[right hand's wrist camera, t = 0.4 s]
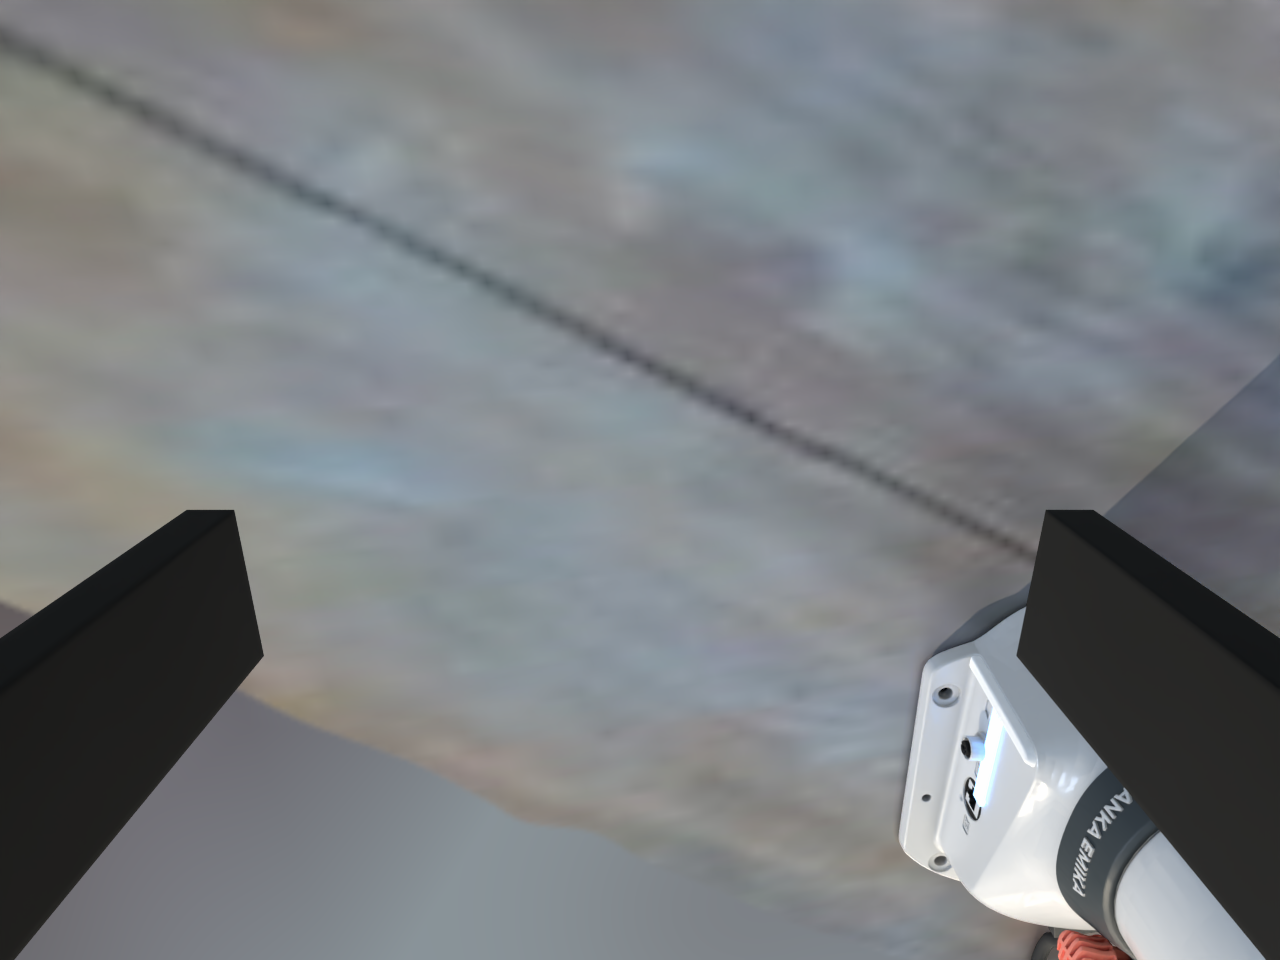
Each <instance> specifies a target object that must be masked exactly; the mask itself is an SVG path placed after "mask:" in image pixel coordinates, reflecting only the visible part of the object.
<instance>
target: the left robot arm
mask: <svg viewBox="0 0 1280 960" xmlns="http://www.w3.org/2000/svg"><path fill="white" fill-rule="evenodd" d="M1025 610H1026V607H1024V608H1022V609H1020V610H1019V611H1017V612H1015V613H1014V614H1012V615H1010V616H1009V617H1007V618H1006V619H1004V620H1003V621H1002V622H1000V623H999V624H998V625H996V626H995V627H994V628H992V629H991V630H990V631H988V632H987V633H986V634H984V635H983V636H981V637H980V638H978V639H976V640H974V641H972V642H969V643H966V644H963V645H960V646H957V647H954V648H951V649H948V650H945V651H943V652H941V653H939V654H937V655H935V656H933V657H932V658H930V659H929V660H928V661H927V663H926V664H925V666H924V669H923V673H922V679H921V686H920V693H919V700H918V706H917V713H916V720H915V727H914V733H913V740H912V747H911V754H910V760H909V767H908V774H907V781H906V787H905V794H904V801H903V808H902V814H901V821H900V829H899V842H900V844H901V846H902V848H903V850H904V851H905V853H906V854H907V855H908V856H909V857H911V858H912V859H913V860H914V861H916V862H917V863H919V864H920V865H922V866H923V867H925V868H927V869H929V870H931V871H933V872H935V873H938V874H940V875H943V876H946V877H949V878H952V879H955V880H959V881H961V882H962V884H963V885H964V886H965V888H966V889H967V890H968V891H969V892H970V893H971V894H972V895H973V896H974V897H975V898H976V899H977V900H978V901H980V902H981V903H983V904H984V905H985V906H987V907H989V908H991V909H993V910H995V911H996V912H998V913H1001V914H1003V915H1006V916H1008V917H1011V918H1014V919H1018V920H1021V921H1025V922H1029V923H1033V924H1038V925H1044V926H1048V927H1049V929H1050V931H1051V932H1048V933H1045V934H1044V935H1043V936H1042V937H1041V938H1040V940H1039V942H1038V943H1037V945H1036V947H1035V949H1034V952H1033V955H1032V958H1031V960H1046V959H1047V957H1048V954H1049V952H1050V951H1051V949H1052V948H1053V947H1057V950H1059V954H1058V958H1059V960H1266V959H1265V958H1264V957H1263V956H1262V954H1261V953H1260V952H1259V951H1258V950H1257V948H1256V947H1255V946H1254V945H1253V944H1252V942H1251V941H1250V940H1249V939H1248V937H1247V936H1246V935H1245V934H1244V933H1243V931H1242V930H1241V929H1240V928H1239V926H1238V925H1237V924H1236V923H1235V922H1234V920H1233V919H1232V918H1231V917H1230V916H1229V914H1228V913H1227V912H1226V911H1225V909H1224V908H1223V907H1222V906H1221V905H1220V903H1219V902H1218V901H1217V900H1216V898H1215V897H1214V896H1213V895H1212V894H1211V892H1210V891H1209V890H1208V889H1207V888H1206V886H1205V885H1204V884H1203V883H1202V881H1201V880H1200V879H1199V878H1198V877H1197V875H1196V874H1195V873H1194V872H1193V870H1192V869H1191V868H1190V867H1189V866H1188V864H1187V863H1186V862H1185V861H1184V860H1183V858H1182V857H1181V856H1180V855H1179V853H1178V852H1177V851H1176V850H1175V849H1174V847H1173V846H1172V845H1171V844H1170V842H1169V841H1168V840H1167V839H1166V838H1165V836H1164V835H1163V834H1162V833H1161V832H1160V830H1159V829H1158V828H1157V827H1156V825H1155V824H1154V823H1153V822H1152V821H1151V819H1150V818H1149V817H1148V816H1147V814H1146V813H1145V812H1144V811H1143V810H1142V808H1141V807H1140V806H1139V805H1138V804H1137V802H1136V801H1135V800H1134V799H1133V797H1132V796H1131V795H1130V794H1129V793H1128V791H1127V790H1126V789H1125V788H1124V786H1123V785H1122V784H1121V783H1120V782H1119V780H1118V779H1117V778H1116V777H1115V776H1114V774H1113V773H1112V772H1111V771H1110V769H1109V768H1108V767H1107V766H1106V765H1105V763H1104V762H1103V761H1102V760H1101V758H1100V757H1099V756H1098V755H1097V754H1096V752H1095V751H1094V750H1093V749H1092V748H1091V746H1090V745H1089V744H1088V743H1087V741H1086V740H1085V739H1084V738H1083V737H1082V735H1081V734H1080V733H1079V732H1078V730H1077V729H1076V728H1075V727H1074V726H1073V724H1072V723H1071V722H1070V721H1069V720H1068V718H1067V717H1066V716H1065V715H1064V713H1063V712H1062V711H1061V710H1060V709H1059V707H1058V706H1057V705H1056V704H1055V702H1054V701H1053V700H1052V699H1051V698H1050V696H1049V695H1048V694H1047V693H1046V692H1045V690H1044V689H1043V688H1042V687H1041V685H1040V684H1039V683H1038V682H1037V681H1036V679H1035V678H1034V677H1033V676H1032V674H1031V673H1030V672H1029V671H1028V670H1027V668H1026V667H1025V666H1024V665H1023V664H1022V662H1021V661H1020V660H1019V659H1018V657H1017V656H1016V654H1017V650H1018V645H1019V640H1020V635H1021V630H1022V625H1023V620H1024V615H1025ZM943 688H947V690H945V691H944V692H939V691H940V690H941V689H943ZM1095 932H1099V933H1100V934H1101V935H1092V936H1087V935H1084V934H1087V933H1095ZM1109 941H1110V942H1111V943H1112V944H1114V945H1115V946H1116V947H1115V946H1112V944H1111V943H1110V942H1109Z"/></svg>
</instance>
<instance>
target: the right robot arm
mask: <svg viewBox="0 0 1280 960" xmlns="http://www.w3.org/2000/svg"><path fill="white" fill-rule="evenodd" d="M263 656H264V654H263V650H262V645H261V640H260V635H259V630H258V625H257V620H256V615H255V610H254V605H253V600H252V595H251V591H250V586H249V581H248V576H247V571H246V566H245V561H244V556H243V551H242V546H241V541H240V536H239V532H238V527H237V522H236V517H235V512H234V510H186V511H185V512H183V513H182V514H180V515H179V516H177V517H176V518H174V519H173V520H171V521H170V522H169V523H167V524H166V525H164V526H163V527H161V528H160V529H158V530H157V531H155V532H154V533H153V534H151V535H150V536H148V537H147V538H145V539H144V540H142V541H141V542H140V543H138V544H137V545H135V546H134V547H132V548H131V549H129V550H128V551H126V552H125V553H124V554H122V555H121V556H119V557H118V558H116V559H115V560H113V561H112V562H110V563H109V564H108V565H106V566H105V567H103V568H102V569H100V570H99V571H97V572H96V573H94V574H93V575H92V576H90V577H89V578H87V579H86V580H84V581H83V582H81V583H80V584H79V585H77V586H76V587H74V588H73V589H71V590H70V591H68V592H67V593H65V594H64V595H63V596H61V597H60V598H58V599H57V600H55V601H54V602H52V603H51V604H49V605H48V606H47V607H45V608H44V609H42V610H41V611H39V612H38V613H36V614H35V615H33V616H32V617H31V618H29V619H28V620H26V621H25V622H23V623H22V624H20V625H19V626H18V627H16V628H15V629H13V630H12V631H10V632H9V633H7V634H6V635H4V636H3V637H2V638H0V960H14V959H15V958H16V957H17V956H18V954H19V953H20V952H21V951H22V950H23V948H24V947H25V946H26V945H27V944H28V942H29V941H30V940H31V939H32V937H33V936H34V935H35V934H36V933H37V931H38V930H39V929H40V928H41V926H42V925H43V924H44V923H45V922H46V920H47V919H48V918H49V917H50V915H51V914H52V913H53V912H54V911H55V909H56V908H57V907H58V906H59V905H60V903H61V902H62V901H63V900H64V898H65V897H66V896H67V895H68V894H69V892H70V891H71V890H72V889H73V887H74V886H75V885H76V884H77V883H78V881H79V880H80V879H81V878H82V876H83V875H84V874H85V873H86V872H87V870H88V869H89V868H90V867H91V866H92V864H93V863H94V862H95V861H96V860H97V858H98V857H99V856H100V855H101V853H102V852H103V851H104V850H105V849H106V847H107V846H108V845H109V844H110V842H111V841H112V840H113V839H114V838H115V836H116V835H117V834H118V833H119V831H120V830H121V829H122V828H123V827H124V825H125V824H126V823H127V822H128V820H129V819H130V818H131V817H132V816H133V814H134V813H135V812H136V811H137V810H138V808H139V807H140V806H141V805H142V804H143V802H144V801H145V800H146V799H147V797H148V796H149V795H150V794H151V792H152V791H153V790H154V789H155V788H156V786H157V785H158V784H159V783H160V782H161V780H162V779H163V778H164V777H165V775H166V774H167V773H168V772H169V771H170V769H171V768H172V767H173V766H174V765H175V763H176V762H177V761H178V760H179V758H180V757H181V756H182V755H183V754H184V752H185V751H186V750H187V749H188V748H189V746H190V745H191V744H192V743H193V741H194V740H195V739H196V738H197V737H198V735H199V734H200V733H201V732H202V730H203V729H204V728H205V727H206V726H207V724H208V723H209V722H210V721H211V720H212V718H213V717H214V716H215V715H216V713H217V712H218V711H219V710H220V709H221V707H222V706H223V705H224V704H225V702H226V701H227V700H228V699H229V698H230V696H231V695H232V694H233V693H234V692H235V690H236V689H237V688H238V687H239V685H240V684H241V683H242V682H243V681H244V679H245V678H246V677H247V676H248V674H249V673H250V672H251V671H252V670H253V668H254V667H255V666H256V665H257V664H258V662H259V661H260V660H261V659H262V657H263ZM1016 656H1017V657H1018V659H1019V660H1020V661H1021V662H1022V664H1023V665H1024V666H1025V667H1026V668H1027V670H1028V671H1029V672H1030V673H1031V674H1032V676H1033V677H1034V678H1035V679H1036V681H1037V682H1038V683H1039V684H1040V685H1041V687H1042V688H1043V689H1044V690H1045V692H1046V693H1047V694H1048V695H1049V696H1050V698H1051V699H1052V700H1053V701H1054V702H1055V704H1056V705H1057V706H1058V707H1059V709H1060V710H1061V711H1062V712H1063V713H1064V715H1065V716H1066V717H1067V718H1068V720H1069V721H1070V722H1071V723H1072V724H1073V726H1074V727H1075V728H1076V729H1077V730H1078V732H1079V733H1080V734H1081V735H1082V737H1083V738H1084V739H1085V740H1086V741H1087V743H1088V744H1089V745H1090V746H1091V748H1092V749H1093V750H1094V751H1095V752H1096V754H1097V755H1098V756H1099V757H1100V758H1101V760H1102V761H1103V762H1104V763H1105V765H1106V766H1107V767H1108V768H1109V769H1110V771H1111V772H1112V773H1113V774H1114V776H1115V777H1116V778H1117V779H1118V780H1119V782H1120V783H1121V784H1122V785H1123V786H1124V788H1125V789H1126V790H1127V791H1128V793H1129V794H1130V795H1131V796H1132V797H1133V799H1134V800H1135V801H1136V802H1137V804H1138V805H1139V806H1140V807H1141V808H1142V810H1143V811H1144V812H1145V813H1146V814H1147V816H1148V817H1149V818H1150V819H1151V821H1152V822H1153V823H1154V824H1155V825H1156V827H1157V828H1158V829H1159V830H1160V832H1161V833H1162V834H1163V835H1164V836H1165V838H1166V839H1167V840H1168V841H1169V842H1170V844H1171V845H1172V846H1173V847H1174V849H1175V850H1176V851H1177V852H1178V853H1179V855H1180V856H1181V857H1182V858H1183V860H1184V861H1185V862H1186V863H1187V864H1188V866H1189V867H1190V868H1191V869H1192V870H1193V872H1194V873H1195V874H1196V875H1197V877H1198V878H1199V879H1200V880H1201V881H1202V883H1203V884H1204V885H1205V886H1206V888H1207V889H1208V890H1209V891H1210V892H1211V894H1212V895H1213V896H1214V897H1215V898H1216V900H1217V901H1218V902H1219V903H1220V905H1221V906H1222V907H1223V908H1224V909H1225V911H1226V912H1227V913H1228V914H1229V916H1230V917H1231V918H1232V919H1233V920H1234V922H1235V923H1236V924H1237V925H1238V926H1239V928H1240V929H1241V930H1242V931H1243V933H1244V934H1245V935H1246V936H1247V937H1248V939H1249V940H1250V941H1251V942H1252V944H1253V945H1254V946H1255V947H1256V948H1257V950H1258V951H1259V952H1260V953H1261V954H1262V956H1263V957H1264V958H1265V959H1266V960H1280V638H1278V637H1277V636H1276V635H1274V634H1273V633H1271V632H1270V631H1268V630H1267V629H1265V628H1264V627H1262V626H1261V625H1260V624H1258V623H1257V622H1255V621H1254V620H1252V619H1251V618H1249V617H1248V616H1247V615H1245V614H1244V613H1242V612H1241V611H1239V610H1238V609H1236V608H1235V607H1233V606H1232V605H1231V604H1229V603H1228V602H1226V601H1225V600H1223V599H1222V598H1220V597H1219V596H1217V595H1216V594H1215V593H1213V592H1212V591H1210V590H1209V589H1207V588H1206V587H1204V586H1203V585H1201V584H1200V583H1199V582H1197V581H1196V580H1194V579H1193V578H1191V577H1190V576H1188V575H1187V574H1186V573H1184V572H1183V571H1181V570H1180V569H1178V568H1177V567H1175V566H1174V565H1172V564H1171V563H1170V562H1168V561H1167V560H1165V559H1164V558H1162V557H1161V556H1159V555H1158V554H1156V553H1155V552H1154V551H1152V550H1151V549H1149V548H1148V547H1146V546H1145V545H1143V544H1142V543H1140V542H1139V541H1138V540H1136V539H1135V538H1133V537H1132V536H1130V535H1129V534H1127V533H1126V532H1125V531H1123V530H1122V529H1120V528H1119V527H1117V526H1116V525H1114V524H1113V523H1111V522H1110V521H1109V520H1107V519H1106V518H1104V517H1103V516H1101V515H1100V514H1098V513H1097V512H1095V511H1094V510H1046V512H1045V517H1044V522H1043V527H1042V532H1041V536H1040V541H1039V546H1038V551H1037V556H1036V561H1035V566H1034V571H1033V576H1032V581H1031V586H1030V591H1029V595H1028V600H1027V605H1026V610H1025V615H1024V620H1023V625H1022V630H1021V635H1020V640H1019V645H1018V650H1017V654H1016Z"/></svg>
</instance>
